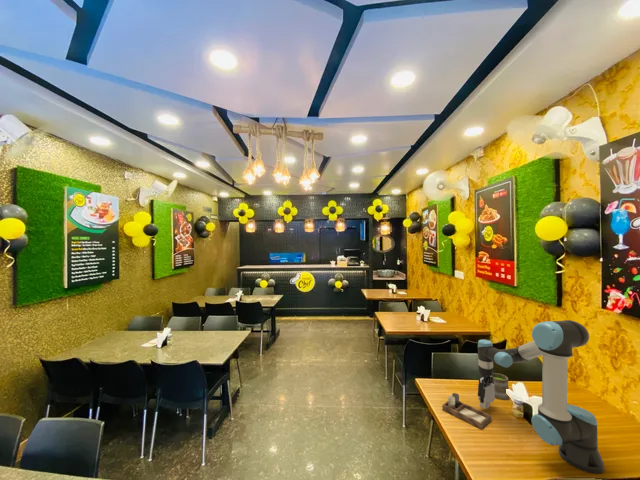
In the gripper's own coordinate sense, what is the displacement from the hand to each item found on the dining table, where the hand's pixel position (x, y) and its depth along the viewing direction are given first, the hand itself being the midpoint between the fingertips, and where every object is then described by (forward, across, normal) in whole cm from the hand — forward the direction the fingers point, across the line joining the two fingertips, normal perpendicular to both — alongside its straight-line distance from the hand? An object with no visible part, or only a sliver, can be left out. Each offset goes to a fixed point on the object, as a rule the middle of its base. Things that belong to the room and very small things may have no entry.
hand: (486, 404), depth 162 cm
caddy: (+3, +15, -5) cm, 16 cm away
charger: (+3, 0, 0) cm, 3 cm away
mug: (+3, -25, -4) cm, 26 cm away
